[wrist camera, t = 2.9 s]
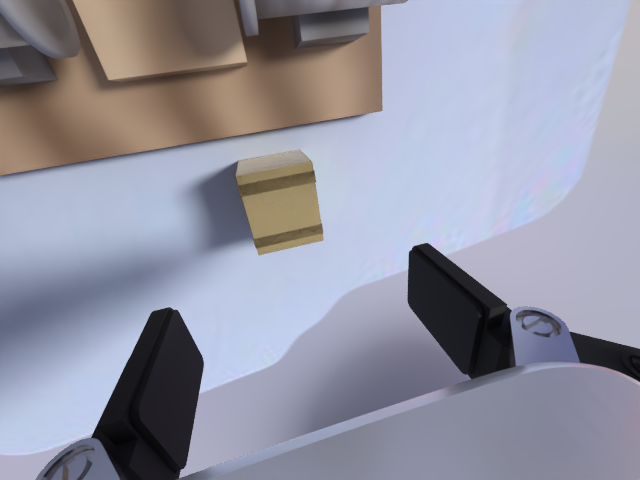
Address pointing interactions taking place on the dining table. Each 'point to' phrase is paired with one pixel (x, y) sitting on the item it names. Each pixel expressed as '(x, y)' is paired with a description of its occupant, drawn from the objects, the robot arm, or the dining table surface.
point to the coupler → (280, 200)
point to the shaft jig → (176, 72)
